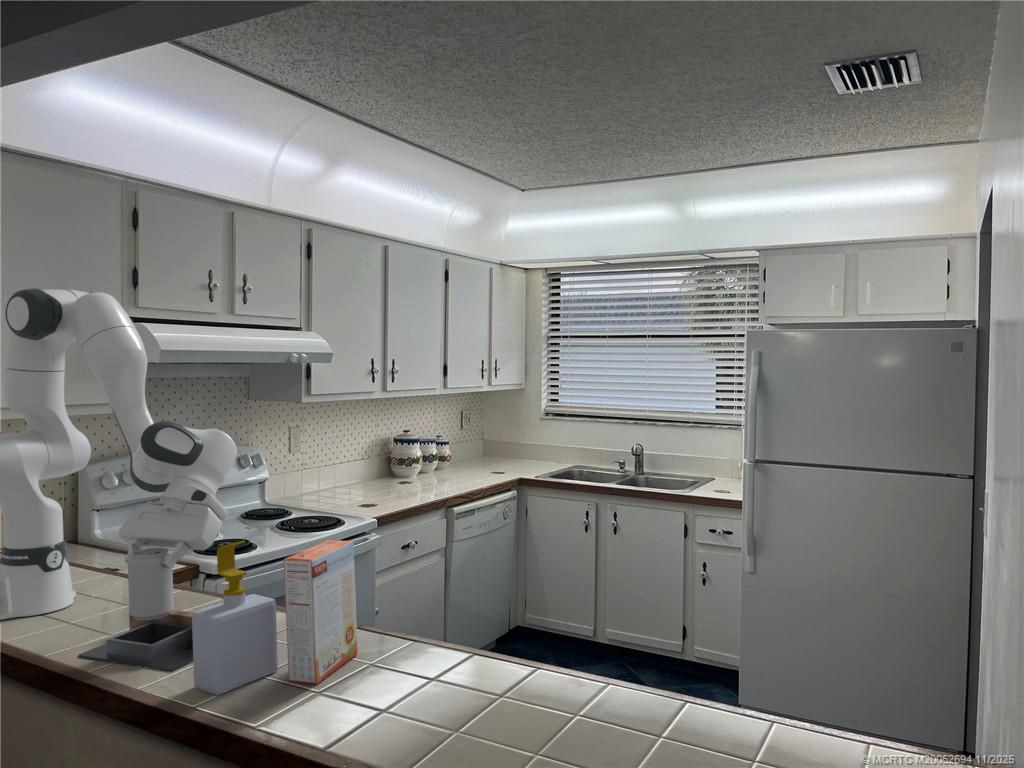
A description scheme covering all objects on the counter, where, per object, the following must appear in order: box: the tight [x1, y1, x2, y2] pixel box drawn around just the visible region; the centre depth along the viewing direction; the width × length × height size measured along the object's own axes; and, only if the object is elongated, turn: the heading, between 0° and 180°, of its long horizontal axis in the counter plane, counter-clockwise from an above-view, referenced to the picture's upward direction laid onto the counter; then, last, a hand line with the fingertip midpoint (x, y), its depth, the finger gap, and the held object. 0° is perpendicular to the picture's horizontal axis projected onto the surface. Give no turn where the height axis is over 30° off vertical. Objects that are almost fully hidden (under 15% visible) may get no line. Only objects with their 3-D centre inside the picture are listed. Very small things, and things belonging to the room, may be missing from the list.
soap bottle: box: [192, 540, 278, 696], centre depth 132 cm, size 12×7×23 cm, turn 145°
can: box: [127, 547, 175, 620], centre depth 145 cm, size 8×8×12 cm
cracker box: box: [283, 539, 358, 685], centre depth 136 cm, size 14×6×21 cm, turn 162°
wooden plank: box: [128, 609, 193, 631], centre depth 152 cm, size 24×2×5 cm, turn 69°
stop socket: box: [78, 621, 193, 673], centre depth 145 cm, size 22×12×3 cm, turn 69°
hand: (147, 564), depth 145 cm, fingers closed on can, 7 cm apart
